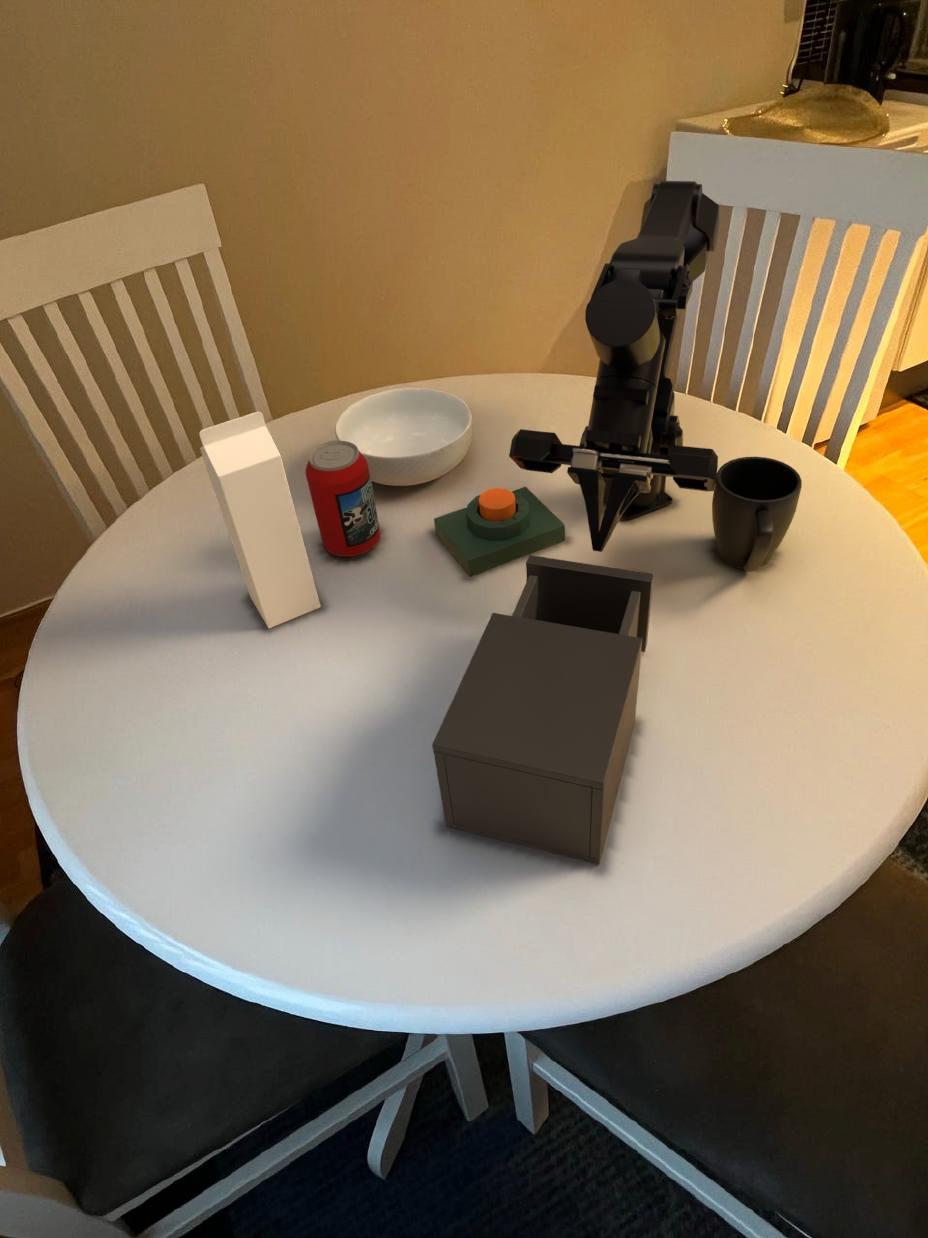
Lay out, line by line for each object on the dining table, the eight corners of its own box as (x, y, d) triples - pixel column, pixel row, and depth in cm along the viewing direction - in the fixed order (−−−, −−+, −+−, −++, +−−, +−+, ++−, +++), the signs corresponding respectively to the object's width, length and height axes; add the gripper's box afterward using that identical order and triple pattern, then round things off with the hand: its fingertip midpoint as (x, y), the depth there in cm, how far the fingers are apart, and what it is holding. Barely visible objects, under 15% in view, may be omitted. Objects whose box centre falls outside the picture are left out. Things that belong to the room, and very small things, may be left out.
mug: (706, 599, 85) (718, 523, 78) (704, 528, 93) (714, 454, 87) (791, 604, 83) (811, 527, 77) (781, 531, 92) (797, 457, 85)
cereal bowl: (354, 517, 100) (343, 467, 95) (337, 448, 112) (327, 400, 107) (490, 489, 102) (486, 439, 97) (459, 424, 114) (454, 376, 109)
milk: (321, 608, 89) (274, 424, 73) (267, 630, 87) (208, 446, 72) (300, 577, 93) (252, 397, 77) (249, 597, 91) (188, 417, 76)
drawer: (542, 597, 85) (541, 528, 80) (654, 615, 82) (661, 545, 76) (490, 725, 74) (484, 656, 68) (618, 753, 70) (624, 682, 64)
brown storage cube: (499, 696, 77) (492, 612, 70) (634, 723, 74) (642, 637, 66) (445, 826, 67) (431, 744, 60) (599, 865, 64) (604, 783, 57)
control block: (526, 501, 100) (525, 473, 97) (565, 540, 94) (565, 511, 91) (435, 533, 96) (431, 505, 94) (469, 576, 90) (467, 547, 88)
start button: (505, 496, 94) (504, 483, 93) (522, 514, 92) (521, 501, 90) (473, 508, 93) (472, 495, 92) (490, 526, 91) (489, 513, 89)
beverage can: (372, 563, 93) (354, 472, 85) (315, 559, 95) (292, 469, 86) (388, 527, 98) (372, 438, 90) (334, 524, 99) (313, 435, 91)
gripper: (727, 420, 83) (700, 575, 83) (545, 403, 88) (520, 548, 88) (730, 384, 72) (699, 561, 72) (522, 367, 77) (493, 532, 77)
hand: (597, 551), depth 78 cm, fingers closed
